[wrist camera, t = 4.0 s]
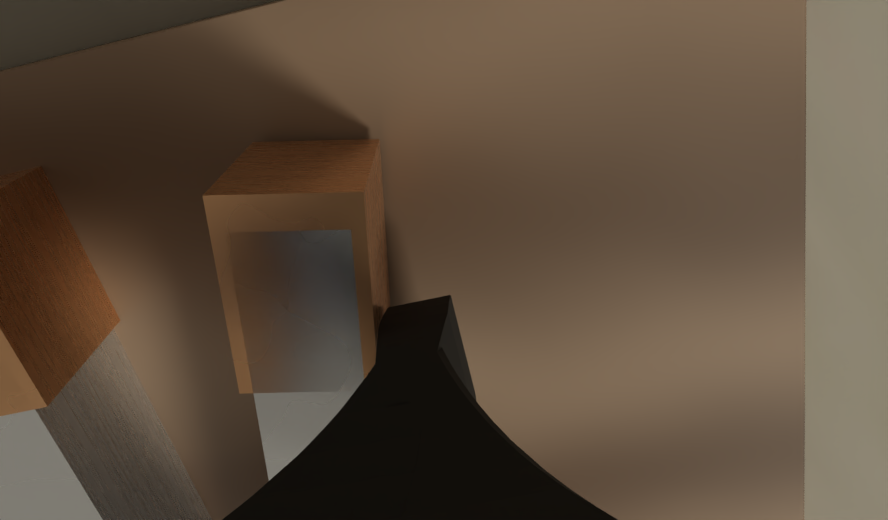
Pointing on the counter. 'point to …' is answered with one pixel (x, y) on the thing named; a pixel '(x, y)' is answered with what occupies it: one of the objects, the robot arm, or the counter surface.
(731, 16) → the walnut board
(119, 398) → the tongs fixed arm
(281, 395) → the tongs swing arm
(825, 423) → the counter surface
